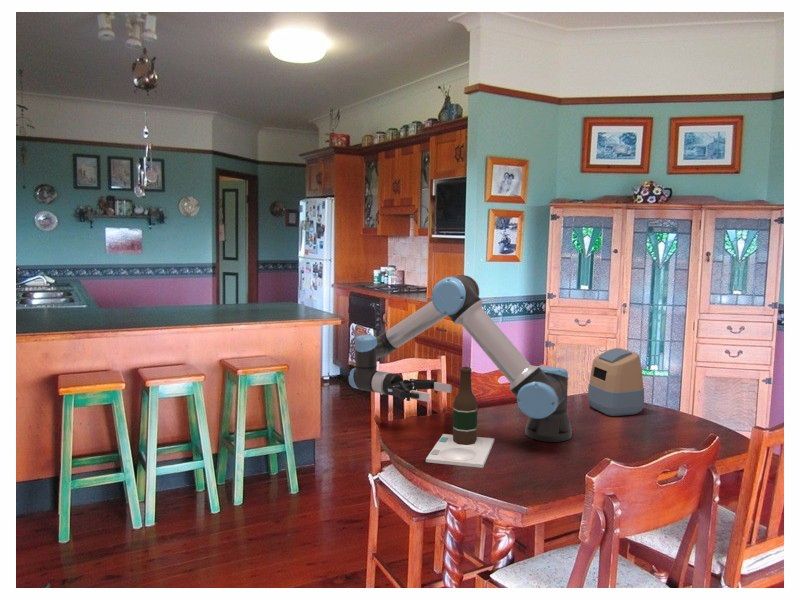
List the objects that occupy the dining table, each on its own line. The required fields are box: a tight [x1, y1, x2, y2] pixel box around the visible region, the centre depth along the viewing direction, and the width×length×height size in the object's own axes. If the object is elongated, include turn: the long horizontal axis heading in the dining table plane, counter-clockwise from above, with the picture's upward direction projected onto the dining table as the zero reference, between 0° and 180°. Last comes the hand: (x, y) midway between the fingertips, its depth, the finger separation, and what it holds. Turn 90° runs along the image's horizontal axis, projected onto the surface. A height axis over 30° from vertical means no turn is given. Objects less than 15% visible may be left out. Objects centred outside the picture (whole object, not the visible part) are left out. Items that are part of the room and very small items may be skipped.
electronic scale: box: [425, 433, 495, 469], centre depth 200 cm, size 17×24×1 cm
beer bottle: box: [452, 366, 478, 445], centre depth 205 cm, size 8×8×24 cm
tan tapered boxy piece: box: [587, 347, 645, 417], centre depth 243 cm, size 17×17×23 cm
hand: (440, 393), depth 210 cm, fingers open, 13 cm apart
